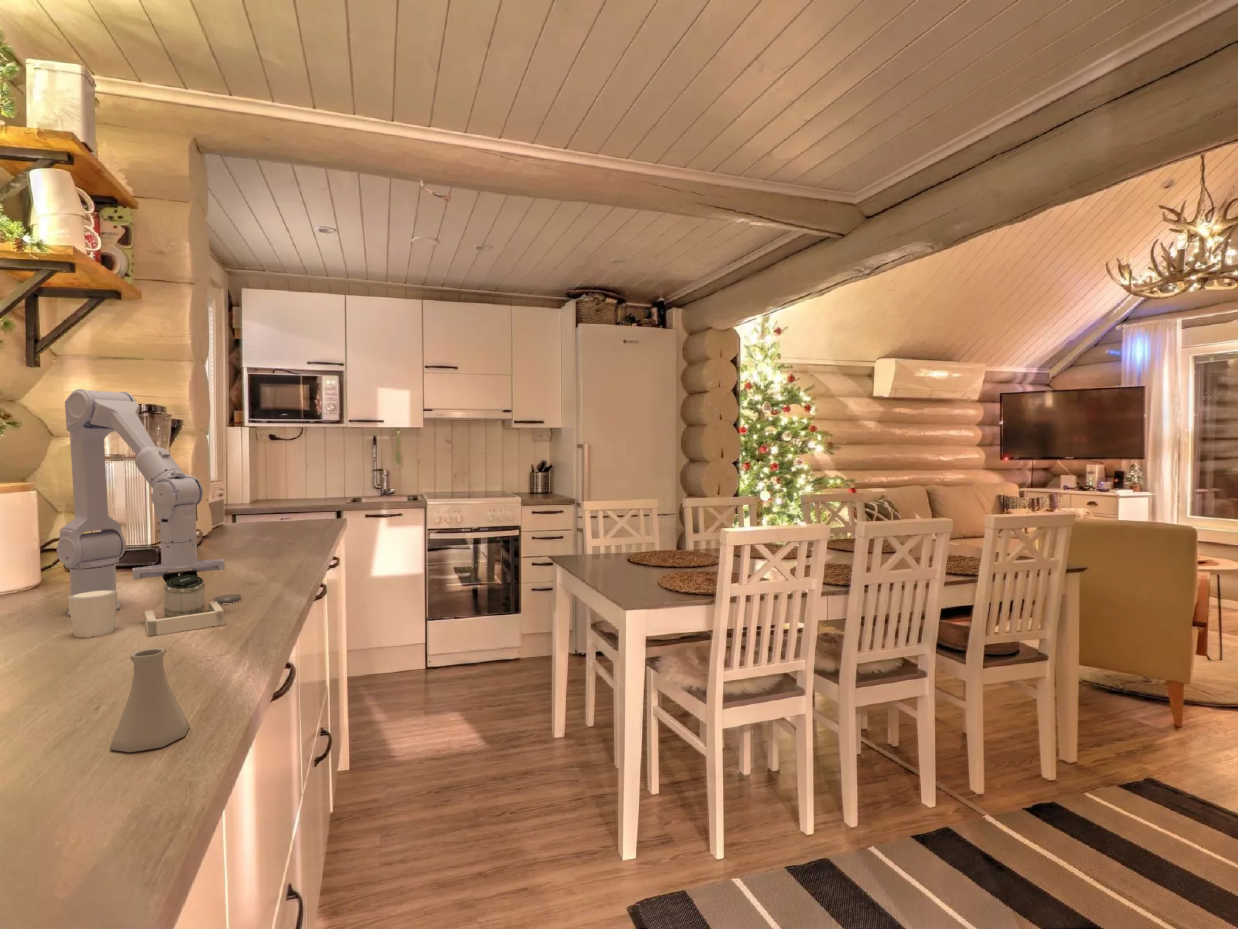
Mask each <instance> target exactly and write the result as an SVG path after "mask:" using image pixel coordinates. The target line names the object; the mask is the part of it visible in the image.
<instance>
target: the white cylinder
mask: <svg viewBox="0 0 1238 929" xmlns="http://www.w3.org/2000/svg"><path fill="white" fill-rule="evenodd" d="M117 599H118V591H117V589H116V590H96V591H88V592H82V593H77V594H74V595H71V594H70V595H69V596H67V600H68V608H69V607H70V613H71V615H70V618H71V623H72V624H71V625H72V630H73V636H74V638H78V637H85V638H92V636H94V637H99V636H104V635H107V634H111V633H113V632H114V631H115V630H116V628H115V626H116V615H117V609H116V604H117Z"/></svg>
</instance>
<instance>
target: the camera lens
mask: <svg viewBox="0 0 1238 929" xmlns="http://www.w3.org/2000/svg"><path fill="white" fill-rule="evenodd" d="M163 589H164V590H163V591H164V593H163V594H164V596H163V601H164V602H163V603H164V604H163V605H164V607H163V612H164V617H165V618H171V617H178V616H185V615H192V614H199V613H205V612H204V610H205V596H206V595H205V594H206V593H205V592H206V591H205V590H206V581H205V580H204V579H203V578H202V577H201V576H194V575H182V576H180V575H179V576H177V577H174V578H171V579H169V580H168V581H167V582H166V583H165V582H164V586H163Z"/></svg>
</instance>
